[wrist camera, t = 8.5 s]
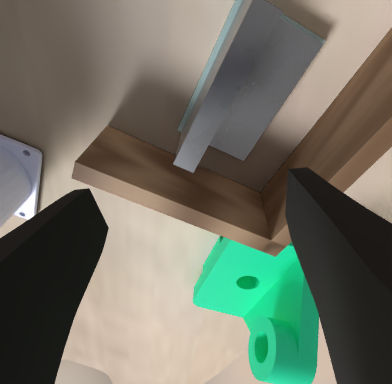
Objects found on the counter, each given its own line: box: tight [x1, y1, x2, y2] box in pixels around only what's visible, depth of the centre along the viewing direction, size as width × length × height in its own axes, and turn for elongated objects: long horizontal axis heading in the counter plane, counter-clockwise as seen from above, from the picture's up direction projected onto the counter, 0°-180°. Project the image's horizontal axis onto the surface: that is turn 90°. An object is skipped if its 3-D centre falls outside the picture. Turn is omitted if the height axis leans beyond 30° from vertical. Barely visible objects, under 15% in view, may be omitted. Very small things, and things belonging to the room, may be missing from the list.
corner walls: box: [72, 28, 392, 257], centre depth 14 cm, size 14×14×5 cm
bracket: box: [173, 0, 323, 173], centre depth 14 cm, size 8×5×5 cm, turn 155°
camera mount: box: [193, 237, 319, 384], centre depth 22 cm, size 12×8×10 cm, turn 161°
